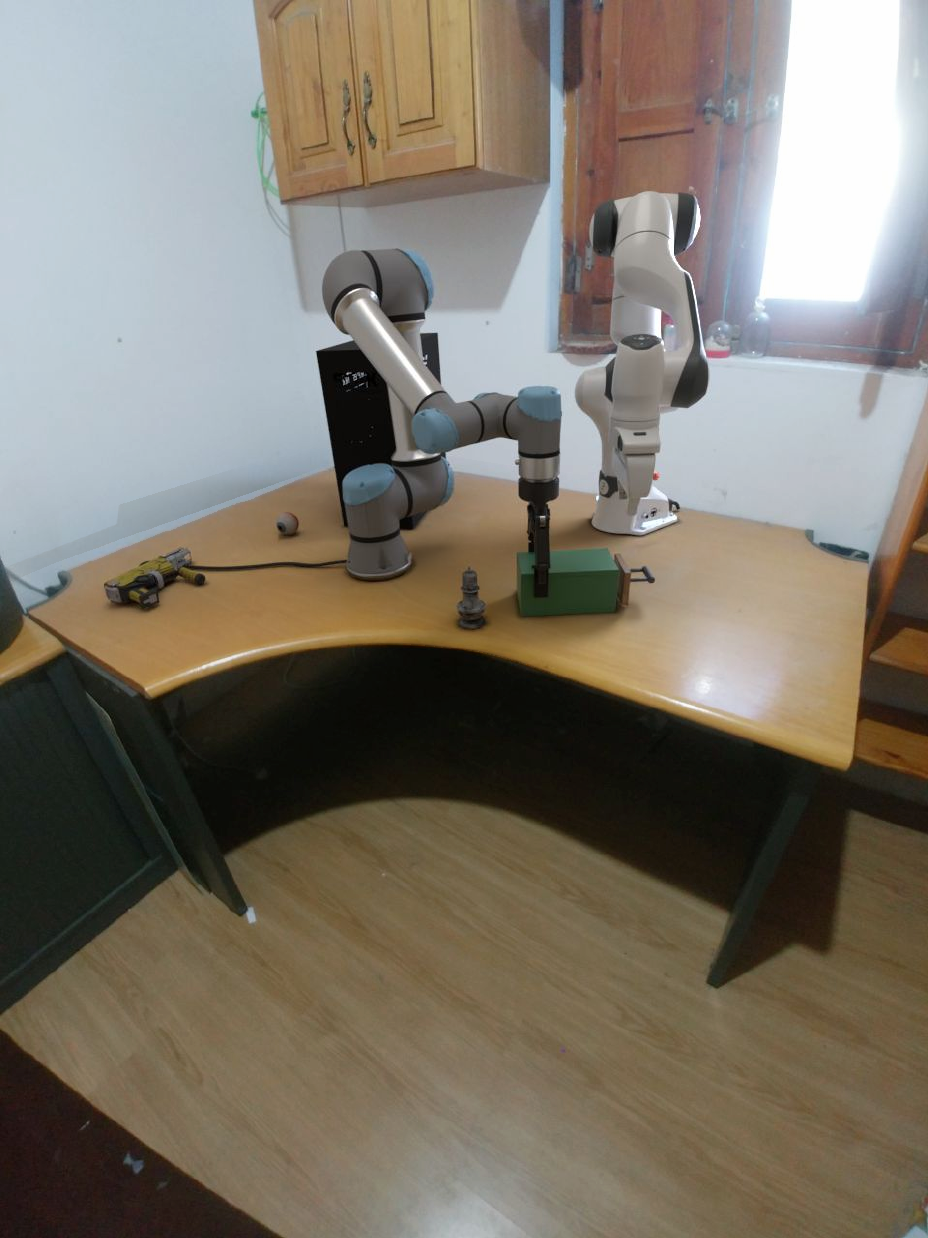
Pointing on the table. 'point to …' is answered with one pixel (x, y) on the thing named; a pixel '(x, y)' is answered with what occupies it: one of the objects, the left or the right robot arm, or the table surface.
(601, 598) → the cabinet
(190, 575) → the toy gun
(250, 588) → the table surface
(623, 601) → the drawer
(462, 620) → the grey chess piece
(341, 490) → the cardboard box
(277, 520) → the eyeball
